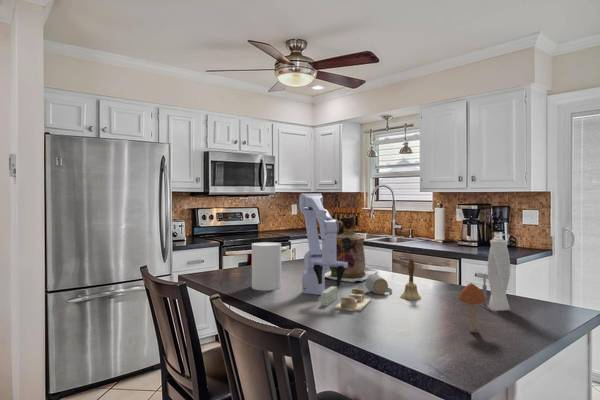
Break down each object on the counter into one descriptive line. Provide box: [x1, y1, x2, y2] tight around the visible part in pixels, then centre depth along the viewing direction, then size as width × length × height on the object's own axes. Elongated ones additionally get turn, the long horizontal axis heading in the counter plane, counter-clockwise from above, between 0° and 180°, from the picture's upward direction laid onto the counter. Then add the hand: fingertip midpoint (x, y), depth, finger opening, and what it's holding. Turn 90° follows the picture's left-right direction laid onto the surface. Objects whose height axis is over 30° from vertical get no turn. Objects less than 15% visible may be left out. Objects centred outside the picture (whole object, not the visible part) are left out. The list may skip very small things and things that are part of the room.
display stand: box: [333, 287, 372, 313], centre depth 154 cm, size 10×16×4 cm, turn 157°
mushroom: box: [457, 282, 486, 333], centre depth 123 cm, size 8×8×15 cm
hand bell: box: [400, 258, 422, 301], centre depth 164 cm, size 8×8×16 cm
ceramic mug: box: [364, 274, 393, 296], centre depth 173 cm, size 11×8×8 cm
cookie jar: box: [325, 215, 379, 283], centre depth 207 cm, size 25×25×32 cm
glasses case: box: [320, 285, 338, 307], centre depth 158 cm, size 2×12×5 cm, turn 157°
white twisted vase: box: [481, 233, 511, 312], centre depth 148 cm, size 8×8×28 cm
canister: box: [251, 241, 282, 292], centre depth 184 cm, size 14×14×20 cm
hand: (329, 284), depth 158 cm, fingers open, 7 cm apart
